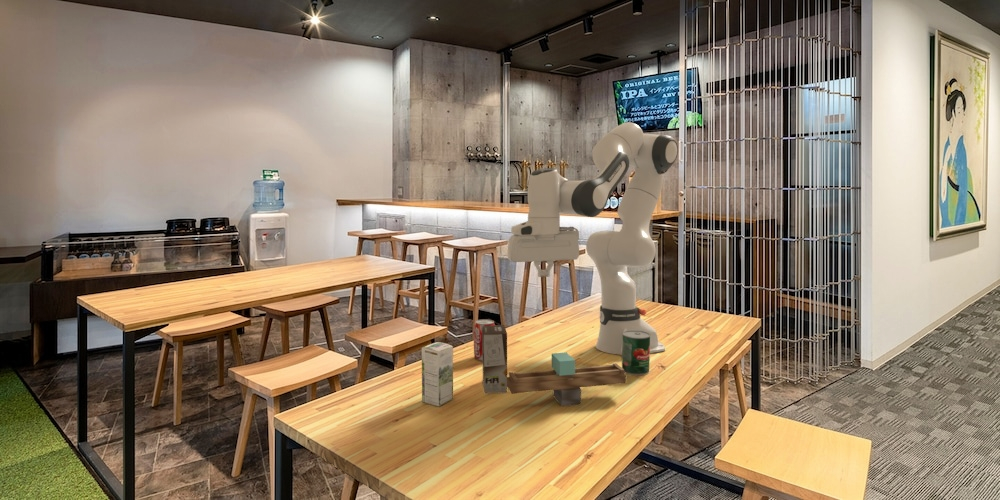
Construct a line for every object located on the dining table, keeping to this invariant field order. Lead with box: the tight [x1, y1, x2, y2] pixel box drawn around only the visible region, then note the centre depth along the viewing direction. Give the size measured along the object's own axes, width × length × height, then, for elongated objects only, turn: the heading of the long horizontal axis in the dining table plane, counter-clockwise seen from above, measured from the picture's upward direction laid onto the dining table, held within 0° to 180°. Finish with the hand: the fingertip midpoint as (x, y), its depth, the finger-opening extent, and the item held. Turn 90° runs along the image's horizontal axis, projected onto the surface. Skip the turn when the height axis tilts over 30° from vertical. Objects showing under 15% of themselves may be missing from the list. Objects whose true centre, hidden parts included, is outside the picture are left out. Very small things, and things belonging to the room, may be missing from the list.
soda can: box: [473, 318, 496, 362], centre depth 169 cm, size 7×7×12 cm
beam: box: [507, 363, 627, 407], centre depth 136 cm, size 30×7×8 cm, turn 102°
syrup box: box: [421, 341, 454, 407], centre depth 136 cm, size 6×6×14 cm
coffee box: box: [482, 324, 508, 394], centre depth 145 cm, size 9×6×16 cm
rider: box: [551, 351, 576, 376], centre depth 135 cm, size 4×6×5 cm, turn 12°
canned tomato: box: [621, 330, 651, 376], centre depth 157 cm, size 8×8×11 cm
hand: (543, 276), depth 150 cm, fingers closed
